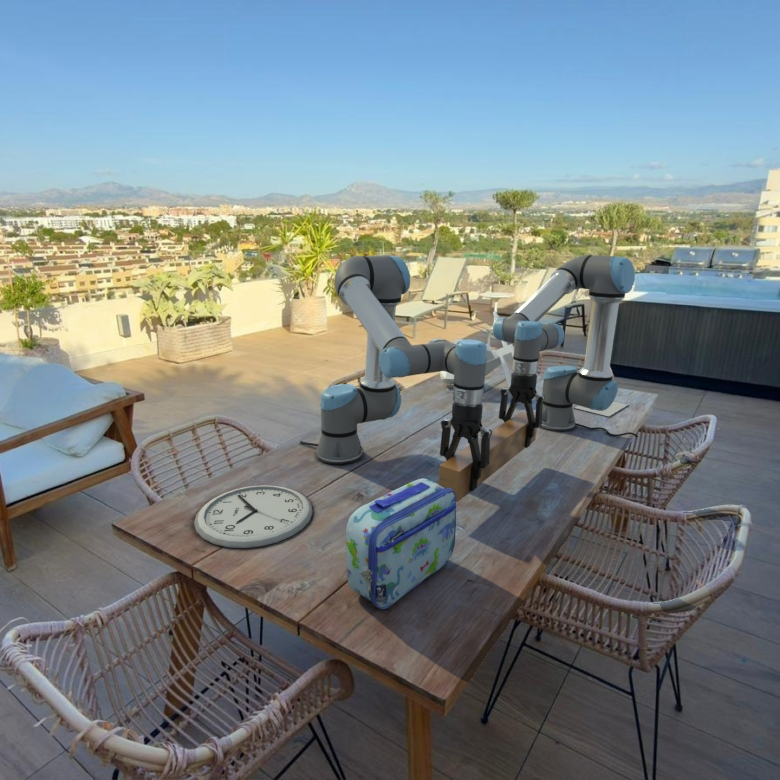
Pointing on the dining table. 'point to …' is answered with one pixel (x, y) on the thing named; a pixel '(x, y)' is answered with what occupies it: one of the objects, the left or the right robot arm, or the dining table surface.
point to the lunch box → (400, 540)
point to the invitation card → (609, 411)
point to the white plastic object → (489, 360)
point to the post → (502, 449)
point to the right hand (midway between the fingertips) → (517, 443)
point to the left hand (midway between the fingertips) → (462, 485)
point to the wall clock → (253, 516)
